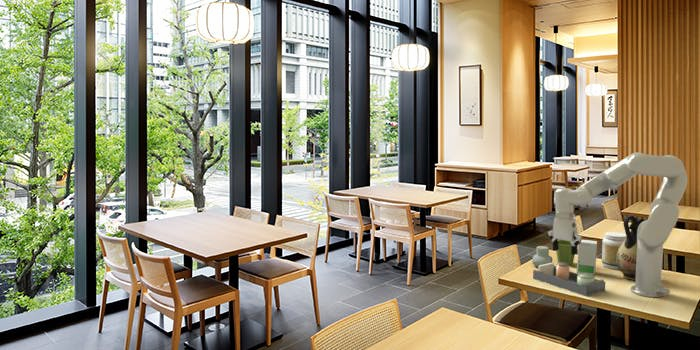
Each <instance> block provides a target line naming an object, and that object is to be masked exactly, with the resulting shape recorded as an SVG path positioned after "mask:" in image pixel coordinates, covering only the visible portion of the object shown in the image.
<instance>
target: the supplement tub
mask: <svg viewBox="0 0 700 350" xmlns="http://www.w3.org/2000/svg"><path fill="white" fill-rule="evenodd" d="M626 237H627V236H626V232H625V233H624V232H617V231H607V232H605V233H604V238H603V239H602V240H601V241H602V244H601V245H602V247H601V248H602V249H601V264H602V266H603V267H605V268H607V269H609V270H619V268H618V267H617V264H616V256H617V252H618V249H619V248H620V246H621V245H622V244H623V242H624V241H625V240H626ZM619 271H620V270H619Z"/></svg>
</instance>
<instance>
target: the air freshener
mask: <svg viewBox="0 0 700 350" xmlns="http://www.w3.org/2000/svg"><path fill="white" fill-rule="evenodd" d="M535 252H536V254H534V255H533V256H532V260H531V263H532V265H534V266H535V267H538V266H539V265H544V264H548V263H553V260H554V259H553V257H552V256H551V255H550V248H549V247H548V246H545V245H538V246H536V251H535Z"/></svg>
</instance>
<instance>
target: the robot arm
mask: <svg viewBox="0 0 700 350" xmlns="http://www.w3.org/2000/svg"><path fill="white" fill-rule="evenodd" d="M637 175H640V176H641V175H642V176H650V177H659V178H662V183H661V186H660V188H659V190H658V192H657V193H656V195H655V197H654V199H653V201H652V202H651V203H650V207H649V211H650V213H649V215H648V218H647V219H645V221H643V222H642V223H641V224H640V225H639V226H638V229H637V259H636V279H635V280H634V281H635V282H634V283H635V284H634V285H632V286H631V287H630V291H631V292H632V293H634V294H636V295H639V296H642V297H648V298H660V297H664V296H670V294H671V289H669V288H666V287H664V285H665V284H664V283H662V276H663V275H662V272H663V258H664V257H663V255H664V253H663V252H664V244H665V243H666V242H667V240H668V238H669V237H670V235H671V234H672V231H673V229H674V227H675V225H676V224H677V222H678V219H679V217H680V210H679V205H680V202H681V200H682V198H683V195H684V193H685V192H686V189H687V186H688V185H687V184H688V174H687V171H686V168H685V165H684V163H683V161H682V160H681V159H680V158H678V157H677V156H675V155H673V154H672V155H671V154H667V155H655V154H654V155H653V154H645V153H643V152H638V151H637V152H636V151H635V152H633V153H631V154H629V155H628V156H626V157H624V158H622V159H621V160H620V161H618V162H617V163H615V164H613V165H611V167H608V168H607V169H605V170H604V171H602V172H600V173H599V174H598V175H596V176H595V177H592V178H591V179H589V180H588V181H586V182H585V183H583V184H581V185H580V186H578V187H577V188H576V189H572V188H568V187H567V188H566V187H561V188H557V189H555V194H554V195H555V201H554V202H555V217H554V218H553V225H552V229H551V230H549V231H547V233H548V236H549V238H550V240H551V242H552V251H555V252H556V250H558V249H559V242H558V240H564V241H570V243H571V244H572V246H571V254H572V255H578V246H579V244H580V243H581V240H583V237H582V236H581V235H580V234H578V233H579V232H578V226H577V222H576V219H575V218H576V214H575V213H574V206H580V207H581V206H582V207H585V206H588V205H590V204H591V202H592V200H593V199H594V198H595V197H597V196H599V195H601V194H602V193H604V192H606V191H608V190H610V189H611V190H612V189H615V188H617V187H619V186H622V185H623V184H624V183H626V182H627V181H629V180H631V179H632V178H634V177H636V176H637Z"/></svg>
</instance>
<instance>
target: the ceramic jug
mask: <svg viewBox="0 0 700 350" xmlns="http://www.w3.org/2000/svg"><path fill="white" fill-rule="evenodd" d="M629 221H631V223H630V224H629ZM643 221H646V219H645V218H642V217H640V218H637V217H635V216H634V215H629V214H628V215H626V216H625V217H624V218H623V223H622V224H623V229H624V231H625V234H626V236H627V237H626V240H625V241H624V242H623V244H622V245H621V246H620V248H619V249H618V252H617V256H616V264H617V267H618V268H619V271H620V272H621V273H622V275H623V277H624V279H628V280H634V281H635V279H636V259H637V229H638V226H639V225H640V224H641V223H642V222H643Z"/></svg>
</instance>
